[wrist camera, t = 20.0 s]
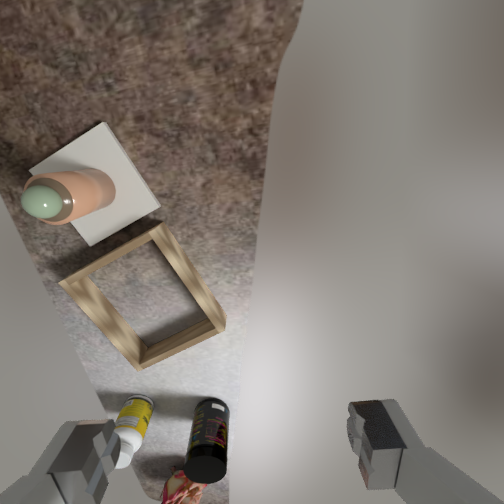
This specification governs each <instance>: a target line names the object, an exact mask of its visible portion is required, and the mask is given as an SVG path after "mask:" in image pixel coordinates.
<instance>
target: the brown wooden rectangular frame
mask: <svg viewBox="0 0 504 504" xmlns="http://www.w3.org/2000/svg"><path fill="white" fill-rule="evenodd" d="M152 239H153V240H154V241H155V243H156V244H157V246H158V247H159V248H160V250H161V251H162V253H163V254H164V255H165V257H166V258H167V260H168V261H169V263H170V264H171V265H172V267H173V268H174V270H175V271H176V272H177V274H178V275H179V277H180V278H181V280H182V281H183V282H184V284H185V285H186V287H187V288H188V290H189V291H190V292H191V294H192V295H193V297H194V298H195V299H196V301H197V302H198V304H199V305H200V307H201V308H202V309H203V311H204V312H205V314H206V315H207V316H208V319H206V320H204V321H202V322H199V323H197V324H195V325H193V326H191V327H189V328H187V329H185V330H183V331H181V332H179V333H177V334H175V335H173V336H171V337H169V338H167V339H165V340H163V341H160V342H158V343H156V344H154V345H152V346H150V347H147V346H146V345H145V344H144V342H143V341H142V340H141V339H140V338H139V337H138V335H137V334H136V333H135V332H134V331H133V329H132V328H131V327H130V326H129V325H128V323H127V322H126V321H125V320H124V319H123V317H122V316H121V315H120V314H119V313H118V312H117V310H116V309H115V308H114V307H113V306H112V304H111V303H110V302H109V301H108V300H107V298H106V297H105V296H104V295H103V294H102V293H101V291H100V290H99V289H98V288H97V287H96V285H95V284H94V283H93V282H92V281H91V279H90V278H89V277H88V276H87V275H89V274H90V273H92V272H94V271H96V270H98V269H99V268H101V267H103V266H105V265H107V264H108V263H110V262H112V261H114V260H116V259H118V258H119V257H121V256H123V255H125V254H127V253H128V252H130V251H132V250H134V249H136V248H137V247H139V246H141V245H143V244H145V243H146V242H148V241H150V240H152ZM59 284H60V285H61V286H62V287H63V289H64V290H65V291H66V292H67V293H68V294H69V295H70V296H71V297H72V299H73V300H74V301H75V302H76V303H77V304H78V305H79V306H80V308H81V309H82V310H83V311H84V312H85V313H86V314H87V315H88V317H89V318H90V319H91V320H92V321H93V322H94V323H95V324H96V325H97V327H98V328H99V329H100V330H101V331H102V332H103V333H104V334H105V336H106V337H107V338H108V339H109V340H110V341H111V342H112V343H113V344H114V346H115V347H116V348H117V349H118V350H119V351H120V352H121V353H122V355H123V356H124V357H125V358H126V359H127V360H128V361H129V362H130V364H131V365H132V366H133V367H134V368H135V369H136V370H137V371H141V370H143V369H145V368H147V367H149V366H151V365H153V364H155V363H157V362H159V361H162V360H164V359H166V358H168V357H170V356H172V355H174V354H176V353H178V352H181V351H183V350H185V349H187V348H189V347H191V346H193V345H195V344H197V343H200V342H202V341H204V340H206V339H208V338H210V337H212V336H214V335H216V334H219V333H221V332H223V331H225V326H226V317H227V315H226V314H225V312H224V311H223V309H222V308H221V306H220V305H219V303H218V302H217V300H216V299H215V297H214V296H213V294H212V293H211V291H210V290H209V288H208V287H207V285H206V284H205V282H204V281H203V279H202V278H201V277H200V275H199V274H198V272H197V271H196V269H195V268H194V266H193V265H192V263H191V262H190V260H189V259H188V257H187V256H186V254H185V253H184V251H183V250H182V248H181V247H180V245H179V244H178V242H177V241H176V239H175V238H174V236H173V235H172V233H171V232H170V230H169V229H168V227H167V226H166V225H165V223H164V222H162V223H160V224H158V225H156V226H155V227H153V228H151V229H149V230H148V231H146V232H144V233H142V234H140V235H139V236H137V237H135V238H133V239H131V240H130V241H128V242H126V243H124V244H123V245H121V246H119V247H117V248H115V249H114V250H112V251H110V252H108V253H107V254H105V255H103V256H101V257H99V258H98V259H96V260H94V261H92V262H91V263H89V264H87V265H85V266H83V267H82V268H80V269H78V270H76V271H75V272H73V273H72V274H70V275H69V276H68V277H66V278H65V279H63V280H62V281H60V282H59Z"/></svg>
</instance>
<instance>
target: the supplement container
mask: <svg viewBox="0 0 504 504" xmlns="http://www.w3.org/2000/svg"><path fill="white" fill-rule="evenodd" d="M229 415H230V412H229V408H228V406H227V405H226V404H225V403H224V402H222V401H221V400H218V399H206V400H204V401H202V402H200V403H199V404H198V405H197V407H196V408H195V412H194V417H193V422H192V427H191V432H190V438H189V443H188V448H187V453H186V456H185V462H184V467H183V472H184V474H185V476H186V477H187V478H188V479H189V480H191V481H193V482H196V483H200V484H211V483H215V482H217V481H219V480H221V479H222V478H223V477H224V476H225V474H226V471H227V450H228V433H229Z"/></svg>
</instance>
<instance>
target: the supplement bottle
mask: <svg viewBox="0 0 504 504" xmlns="http://www.w3.org/2000/svg"><path fill="white" fill-rule="evenodd" d="M153 409H154V405H153V402H152V401H151V400H150V399H149V398H148V397H146V396H143V395H133V396H131V397H129V398H128V399H127V400H126V401H125V403H124V405H123V407H122V409H121V412H120V414H119V416H118V418H117V420H116V422H115V425H116V427H115V429H114V432H115V433H117V434H118V435H119V437H120V440H121V450H120V455H119V459H118V462H117V464H116V467H115V468H117V469H118V468H124V467H127V466H128V465H129V464H130V462H131V459H132V457H133V454H134V452H136V451H137V450H138V449H139V448H140V446H141V444H142V441H143V438H144V435H145V432H146V429H147V427H148V424H149V421H150V418H151V415H152V412H153Z"/></svg>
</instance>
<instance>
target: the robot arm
mask: <svg viewBox="0 0 504 504" xmlns="http://www.w3.org/2000/svg"><path fill="white" fill-rule="evenodd" d="M348 411H349V413H350V417H349V418H348V419H347V431H348V437H349V441H350V444H351V447H352V450H353V452H354V453H355V454H356V455H358V456H359V469H360V472H361V474H362V477H363V480H364V482H365V485H366V488H367V490H377V489H378V490H379V489H395V491H396V492H397V493H398V495H399V496H400V497H401V498H402V499H403V500H404V501H405V502H406V503H407V504H504V502H503V501H501V500H500V499H499V498H497V497H496V496H495V495H493V494H492V493H491V492H489V491H488V490H487V489H485V488H484V487H483V486H481V485H480V484H479V483H477V482H476V481H475V480H473V479H472V478H471V477H469V476H468V475H467V474H466V473H464V472H463V471H461V470H460V469H459V468H457V467H456V466H454V464H452V463H451V462H449V461H448V460H447V459H446V458H444V457H443V456H442V455H440V454H439V453H437V452H436V451H435V450H434V449H432V448H431V447H425V445H424V444H423V442H422V441H421V439H420V437H419V436H418V434H417V433H416V431H415V429H414V428H413V426H412V425H411V423H410V422H409V420H408V418H407V417H406V415H405V413H404V412H403V410H402V409H401V407H400V406H399V404H398V402H397V401H396V400H394V399H387V400H368V401H358V402H350V403H349V406H348ZM115 427H116V425H115V422H114V420H113V419H106V420H81V421H67V422H65V423H64V424H63V425H62V426H61V427H60V428H59V430H58V432H57V433H56V434H55V436H54V437H53V439H52V440H51V442H50V443H49V445H48V446H47V448H46V449H45V451H44V452H43V454H42V455H41V457H40V458H39V460H38V461H37V462H36V464H35V465H34V467H33V468H32V470H31V471H30V473H29V474H28V475H26V476H22V477H21V478H20V479H18V480H17V481H16V482H15V483H13V484H12V485H11V486H10V487H8V488H7V489H6V490H5V491H3V492H2V493H1V494H0V504H100V503H101V501H102V498H103V496H104V494H105V491H106V489H107V486H108V484H109V483H108V478H107V476H108V475H109V474H110V472H112V470H114V468H115V467H116V464H117V462H118V459H119V455H120V450H121V440H120V437H119V435H118V434H117V433H115V432H114V429H115Z"/></svg>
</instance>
